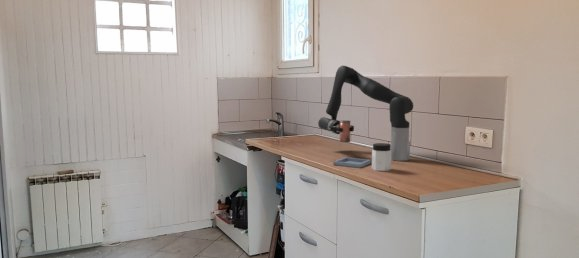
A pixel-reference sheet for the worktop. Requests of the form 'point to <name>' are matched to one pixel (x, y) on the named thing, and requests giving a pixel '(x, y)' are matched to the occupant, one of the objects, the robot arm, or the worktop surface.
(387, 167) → the jar
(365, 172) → the worktop surface
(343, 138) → the canister
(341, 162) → the tray
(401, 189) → the worktop surface
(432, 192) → the worktop surface
